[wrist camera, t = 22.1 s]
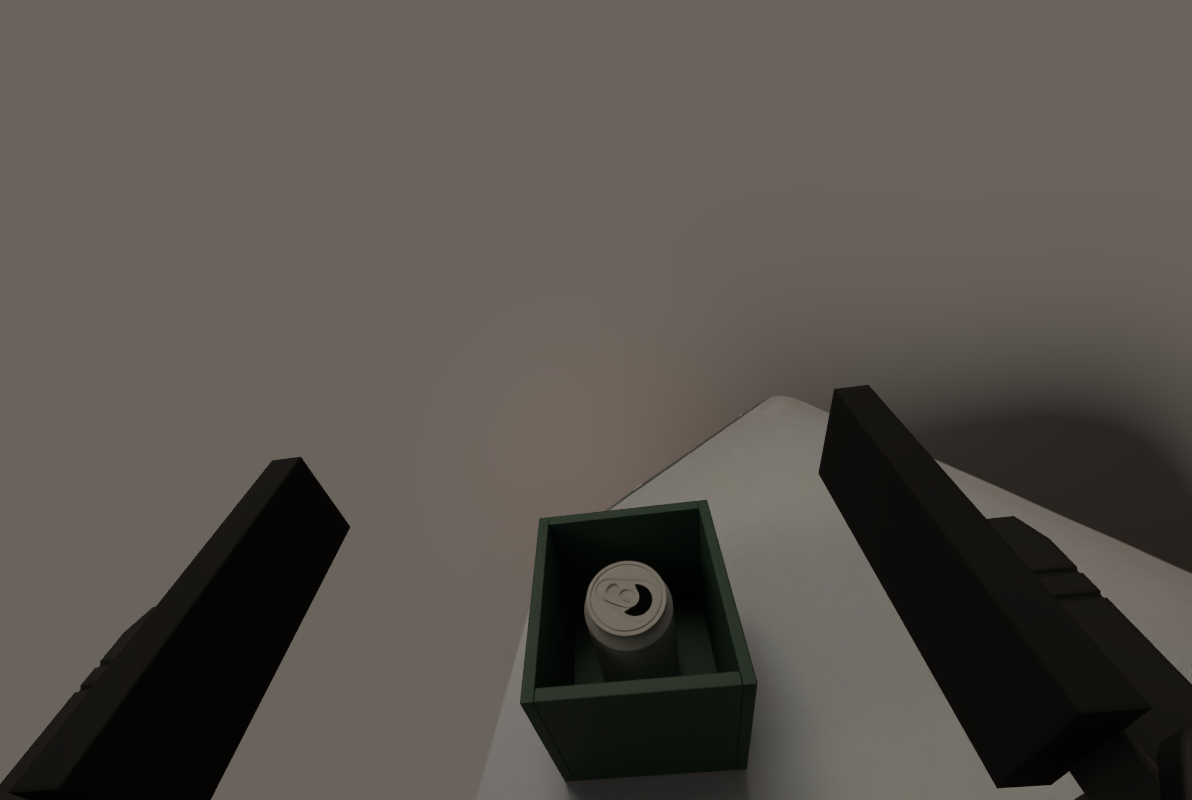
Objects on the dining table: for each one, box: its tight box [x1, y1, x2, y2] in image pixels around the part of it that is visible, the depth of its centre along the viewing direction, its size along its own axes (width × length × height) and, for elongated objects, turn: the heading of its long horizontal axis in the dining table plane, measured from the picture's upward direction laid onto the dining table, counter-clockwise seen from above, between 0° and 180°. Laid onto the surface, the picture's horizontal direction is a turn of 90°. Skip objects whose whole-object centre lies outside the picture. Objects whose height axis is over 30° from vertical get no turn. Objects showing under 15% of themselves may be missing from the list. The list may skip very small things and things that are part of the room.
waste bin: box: [520, 500, 757, 781], centre depth 36 cm, size 14×14×14 cm
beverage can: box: [584, 561, 680, 682], centre depth 36 cm, size 6×6×12 cm
